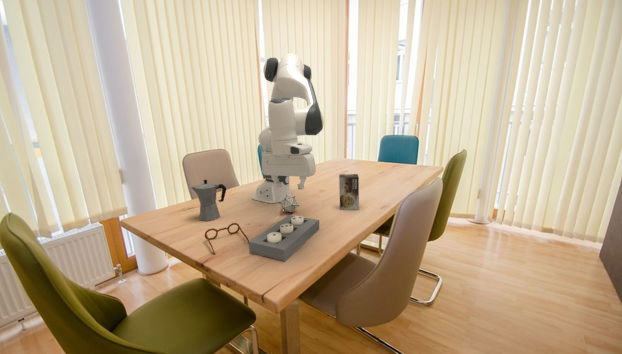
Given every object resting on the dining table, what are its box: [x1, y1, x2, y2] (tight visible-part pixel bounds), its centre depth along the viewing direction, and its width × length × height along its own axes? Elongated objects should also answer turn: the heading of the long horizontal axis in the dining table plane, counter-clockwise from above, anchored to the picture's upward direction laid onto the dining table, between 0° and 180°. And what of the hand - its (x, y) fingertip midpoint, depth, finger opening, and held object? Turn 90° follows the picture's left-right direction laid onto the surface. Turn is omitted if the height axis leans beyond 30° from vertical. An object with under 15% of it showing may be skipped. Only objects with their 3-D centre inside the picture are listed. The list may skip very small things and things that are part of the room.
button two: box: [291, 215, 304, 226], centre depth 105 cm, size 5×5×4 cm
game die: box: [278, 195, 300, 215], centre depth 126 cm, size 9×8×10 cm
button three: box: [280, 223, 293, 235], centre depth 98 cm, size 5×5×4 cm
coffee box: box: [338, 173, 360, 211], centre depth 129 cm, size 9×6×16 cm
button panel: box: [248, 214, 320, 262], centre depth 99 cm, size 14×26×4 cm, turn 154°
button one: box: [267, 232, 282, 245], centre depth 92 cm, size 5×5×4 cm
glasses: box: [204, 222, 250, 256], centre depth 98 cm, size 13×13×5 cm
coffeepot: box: [191, 179, 227, 222], centre depth 122 cm, size 15×9×18 cm, turn 92°
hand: (289, 188), depth 92 cm, fingers open, 8 cm apart
